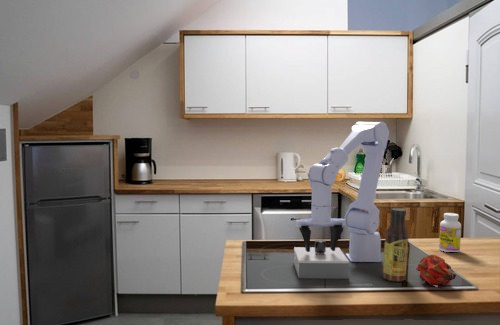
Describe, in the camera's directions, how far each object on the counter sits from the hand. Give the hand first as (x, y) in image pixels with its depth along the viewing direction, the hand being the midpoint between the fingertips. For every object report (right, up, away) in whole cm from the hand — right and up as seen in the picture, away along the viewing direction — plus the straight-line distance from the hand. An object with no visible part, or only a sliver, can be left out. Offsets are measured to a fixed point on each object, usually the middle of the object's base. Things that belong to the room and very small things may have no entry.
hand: (320, 250), depth 138 cm
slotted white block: (0, -6, +1) cm, 6 cm away
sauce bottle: (+20, -7, -6) cm, 22 cm away
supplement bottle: (+48, -5, +23) cm, 53 cm away
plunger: (0, -5, +1) cm, 5 cm away
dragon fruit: (+30, -8, -10) cm, 33 cm away
